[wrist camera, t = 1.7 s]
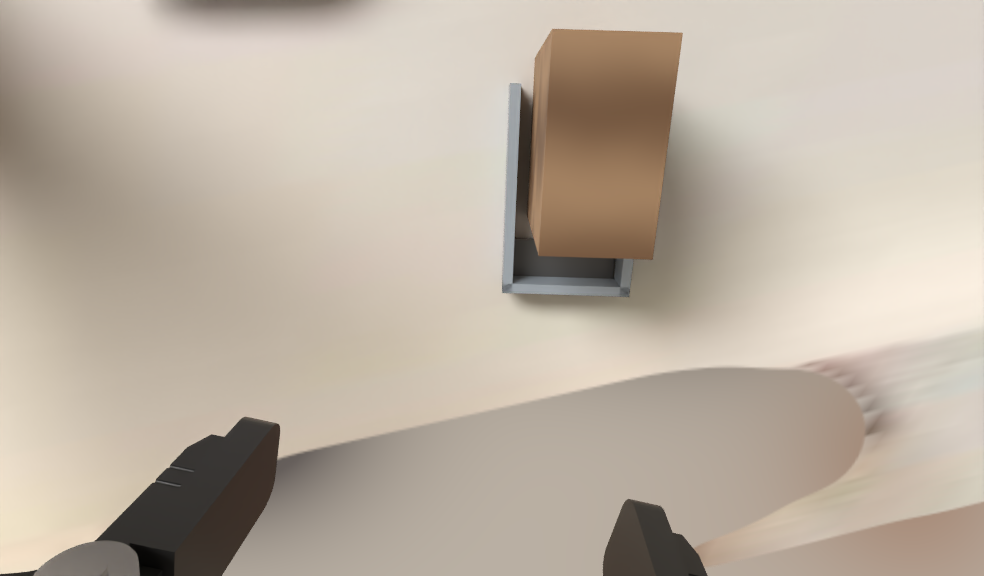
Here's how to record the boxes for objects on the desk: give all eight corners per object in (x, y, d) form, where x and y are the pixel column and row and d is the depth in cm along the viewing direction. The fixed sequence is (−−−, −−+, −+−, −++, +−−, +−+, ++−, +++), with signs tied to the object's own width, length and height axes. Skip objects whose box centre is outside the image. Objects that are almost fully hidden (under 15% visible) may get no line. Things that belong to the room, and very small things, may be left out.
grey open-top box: (621, 286, 33) (628, 296, 31) (502, 282, 33) (502, 292, 31) (644, 89, 29) (654, 87, 27) (509, 85, 29) (510, 83, 27)
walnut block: (606, 217, 32) (652, 259, 22) (527, 214, 32) (538, 255, 22) (622, 60, 29) (682, 32, 19) (534, 58, 29) (552, 28, 20)
